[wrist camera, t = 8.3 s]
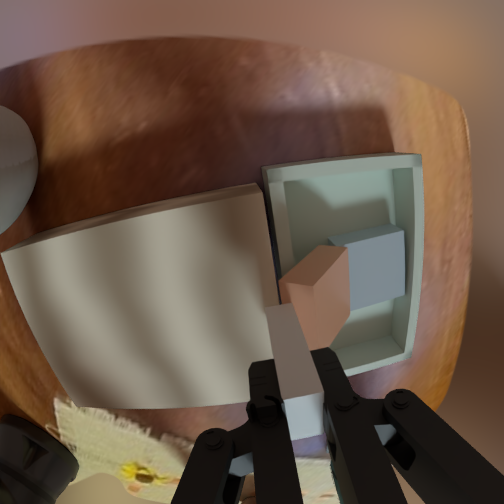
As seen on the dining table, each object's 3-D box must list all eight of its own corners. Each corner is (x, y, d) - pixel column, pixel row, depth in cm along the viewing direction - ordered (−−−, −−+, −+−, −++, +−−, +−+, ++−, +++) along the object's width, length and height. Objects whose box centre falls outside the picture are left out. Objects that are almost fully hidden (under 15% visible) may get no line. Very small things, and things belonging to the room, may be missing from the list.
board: (94, 371, 24) (76, 406, 19) (37, 233, 19) (0, 253, 15) (281, 352, 24) (291, 394, 19) (255, 182, 19) (262, 192, 15)
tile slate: (404, 294, 20) (393, 283, 22) (403, 230, 18) (390, 223, 20) (343, 313, 20) (335, 300, 22) (336, 246, 18) (327, 237, 20)
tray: (288, 360, 24) (295, 388, 21) (261, 166, 19) (266, 169, 16) (394, 335, 24) (410, 357, 21) (395, 152, 19) (421, 154, 16)
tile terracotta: (289, 353, 17) (319, 361, 16) (278, 280, 15) (312, 286, 14) (324, 309, 21) (350, 314, 19) (318, 244, 19) (347, 247, 18)
